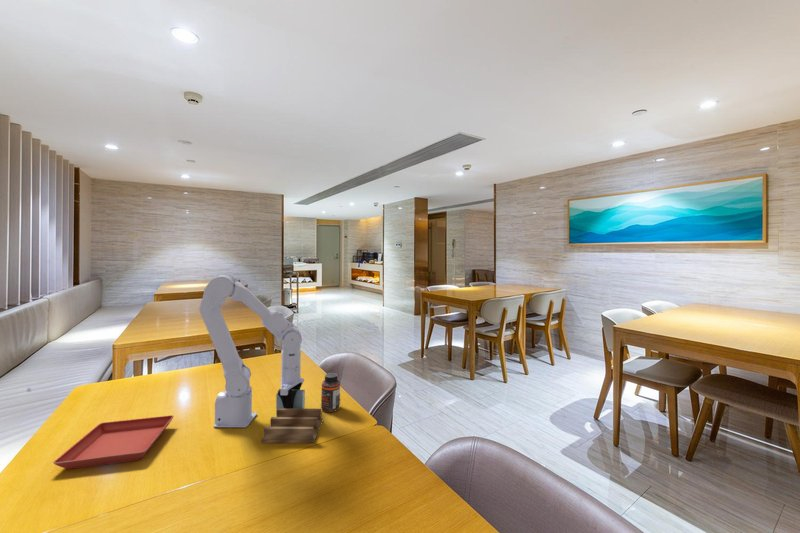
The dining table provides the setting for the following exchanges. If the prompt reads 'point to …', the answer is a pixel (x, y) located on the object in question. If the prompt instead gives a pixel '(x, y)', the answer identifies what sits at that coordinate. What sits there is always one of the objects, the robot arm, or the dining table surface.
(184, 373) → the dining table surface
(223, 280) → the robot arm
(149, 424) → the plant saucer
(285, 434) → the rack
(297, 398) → the grey-green rectangular block
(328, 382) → the supplement bottle
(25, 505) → the dining table surface
